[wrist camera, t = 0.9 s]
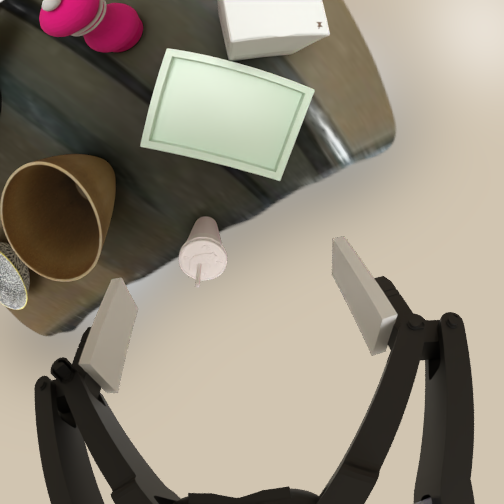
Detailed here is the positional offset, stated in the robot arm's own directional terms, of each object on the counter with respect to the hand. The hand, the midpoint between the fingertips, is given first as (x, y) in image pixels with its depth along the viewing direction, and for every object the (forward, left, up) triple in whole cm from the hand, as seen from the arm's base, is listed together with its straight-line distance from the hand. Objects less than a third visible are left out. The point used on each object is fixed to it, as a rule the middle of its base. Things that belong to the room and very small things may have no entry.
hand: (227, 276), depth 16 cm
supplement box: (-2, +20, -26) cm, 33 cm away
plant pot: (-19, -7, -26) cm, 33 cm away
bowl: (-40, -28, -26) cm, 55 cm away
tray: (-2, +7, -26) cm, 27 cm away
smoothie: (0, -11, -26) cm, 28 cm away
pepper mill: (-20, +16, -26) cm, 37 cm away
